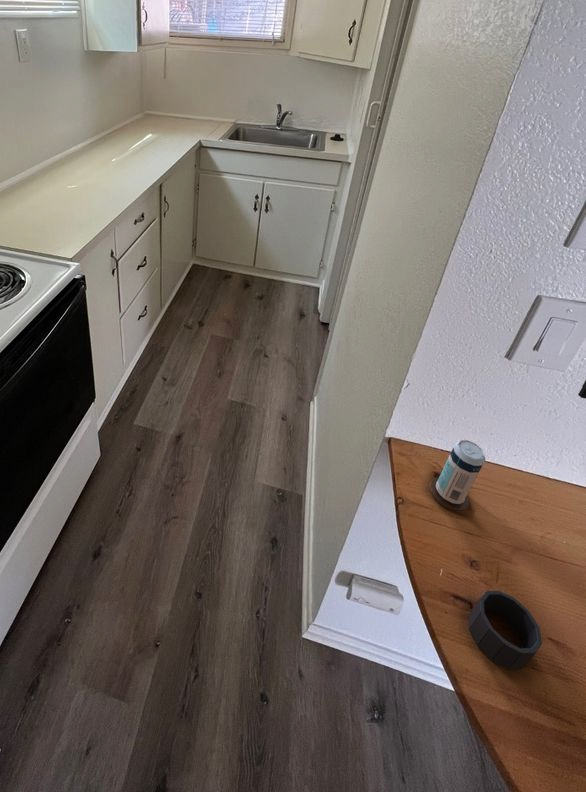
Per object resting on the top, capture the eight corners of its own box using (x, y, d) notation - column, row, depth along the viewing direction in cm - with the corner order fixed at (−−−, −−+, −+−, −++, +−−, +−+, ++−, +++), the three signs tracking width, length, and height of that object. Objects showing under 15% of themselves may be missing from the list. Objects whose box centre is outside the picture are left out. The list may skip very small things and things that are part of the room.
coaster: (454, 478, 83) (455, 476, 82) (475, 511, 77) (477, 509, 77) (422, 479, 82) (423, 477, 82) (441, 512, 77) (442, 510, 77)
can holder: (503, 607, 64) (516, 589, 62) (539, 669, 58) (555, 652, 56) (458, 608, 64) (469, 591, 62) (489, 670, 58) (503, 653, 55)
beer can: (470, 500, 78) (494, 456, 73) (451, 509, 77) (474, 465, 71) (447, 477, 82) (468, 434, 77) (429, 485, 81) (449, 442, 75)
